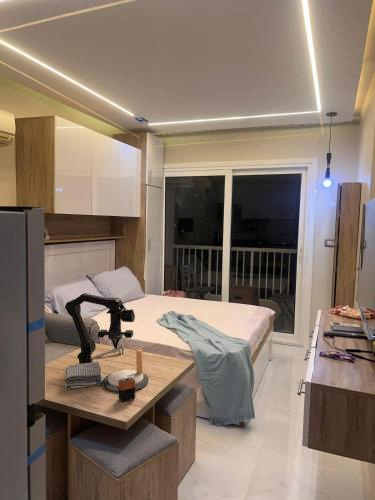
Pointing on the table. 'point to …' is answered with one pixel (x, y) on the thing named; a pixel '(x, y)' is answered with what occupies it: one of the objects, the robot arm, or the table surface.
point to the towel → (83, 375)
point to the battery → (126, 389)
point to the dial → (128, 372)
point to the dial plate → (116, 389)
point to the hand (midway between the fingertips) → (115, 348)
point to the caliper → (110, 351)
